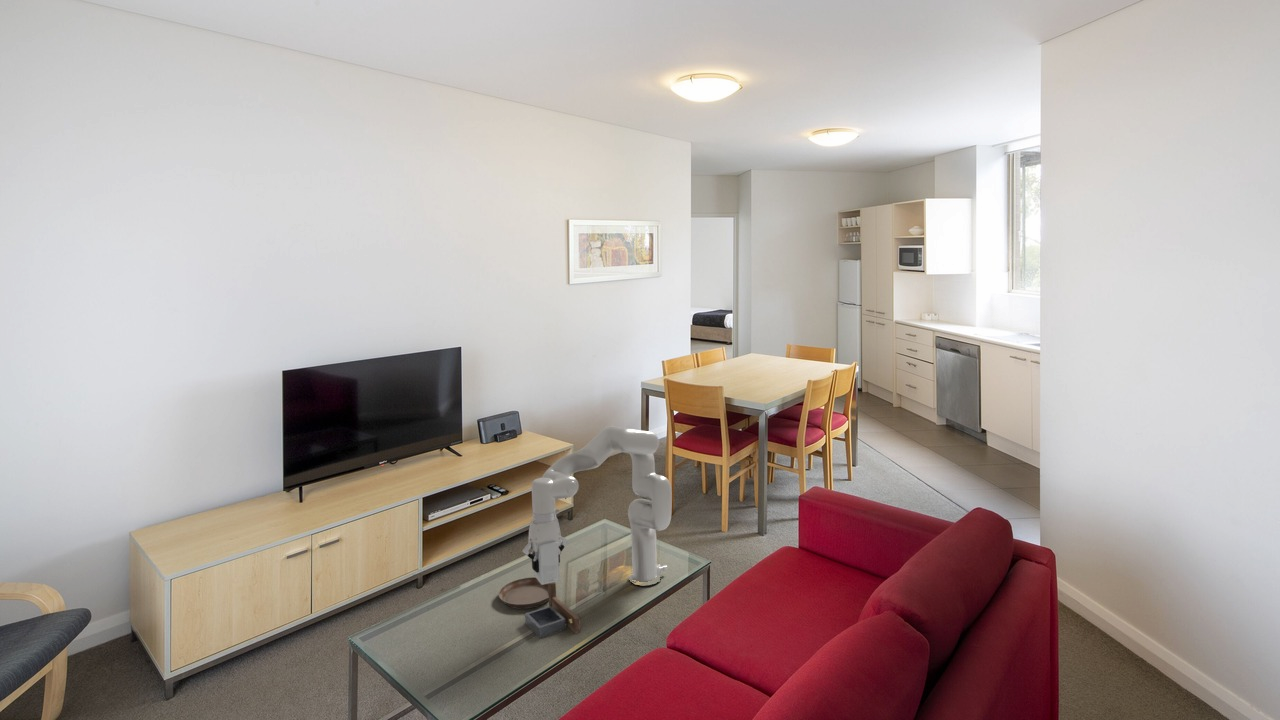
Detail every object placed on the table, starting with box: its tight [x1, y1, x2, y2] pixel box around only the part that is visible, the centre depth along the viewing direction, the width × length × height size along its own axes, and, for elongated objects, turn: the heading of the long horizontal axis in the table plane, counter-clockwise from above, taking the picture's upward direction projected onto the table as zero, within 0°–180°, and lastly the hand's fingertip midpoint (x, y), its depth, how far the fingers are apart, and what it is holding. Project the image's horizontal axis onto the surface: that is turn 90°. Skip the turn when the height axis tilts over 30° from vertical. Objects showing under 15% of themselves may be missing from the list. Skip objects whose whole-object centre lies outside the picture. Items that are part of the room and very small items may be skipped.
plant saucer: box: [498, 576, 549, 610], centre depth 234 cm, size 21×21×3 cm
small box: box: [533, 541, 560, 585], centre depth 211 cm, size 8×6×13 cm
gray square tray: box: [524, 605, 567, 639], centre depth 213 cm, size 10×12×4 cm
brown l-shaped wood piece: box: [548, 582, 581, 634], centre depth 216 cm, size 3×20×10 cm, turn 33°
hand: (546, 567), depth 212 cm, fingers closed on small box, 6 cm apart
